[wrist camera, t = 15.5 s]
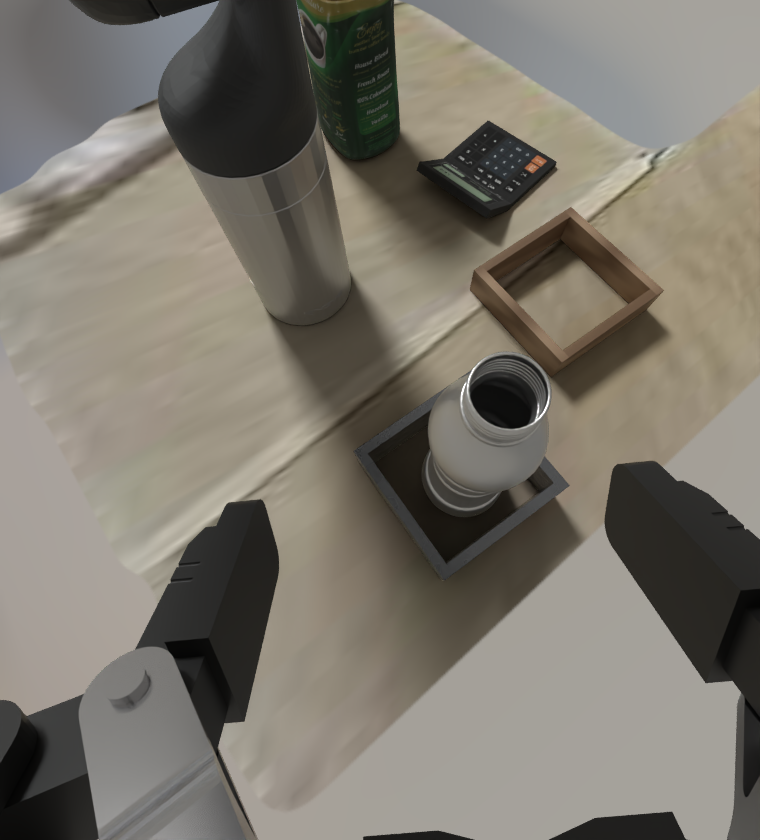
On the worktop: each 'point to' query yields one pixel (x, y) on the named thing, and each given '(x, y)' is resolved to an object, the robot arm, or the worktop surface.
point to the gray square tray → (367, 455)
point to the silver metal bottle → (486, 433)
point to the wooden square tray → (594, 254)
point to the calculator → (489, 170)
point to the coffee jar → (353, 72)
